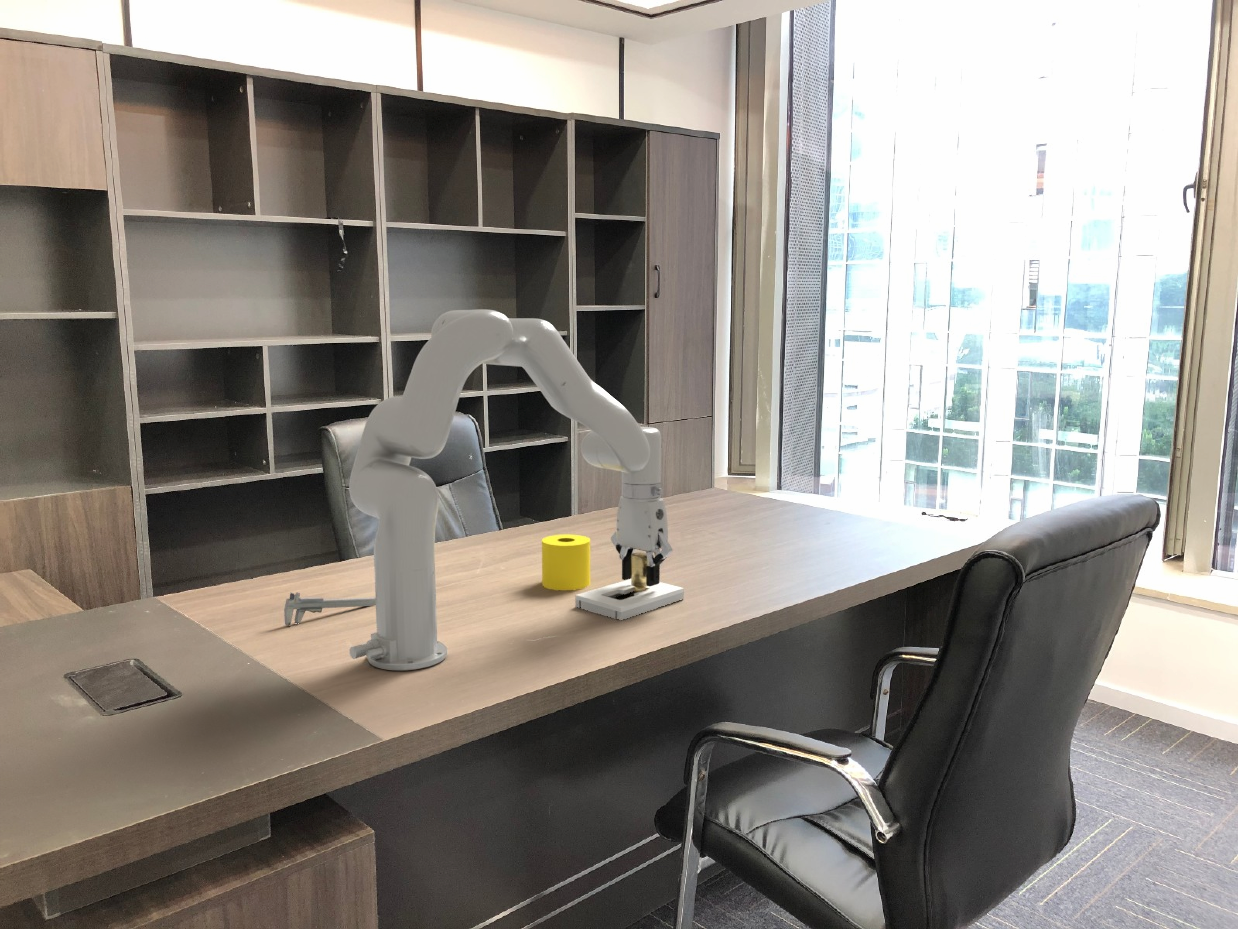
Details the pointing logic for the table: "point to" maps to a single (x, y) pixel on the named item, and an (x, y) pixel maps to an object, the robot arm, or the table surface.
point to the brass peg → (638, 571)
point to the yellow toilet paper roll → (565, 562)
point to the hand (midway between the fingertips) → (640, 580)
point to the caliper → (319, 605)
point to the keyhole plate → (627, 599)
